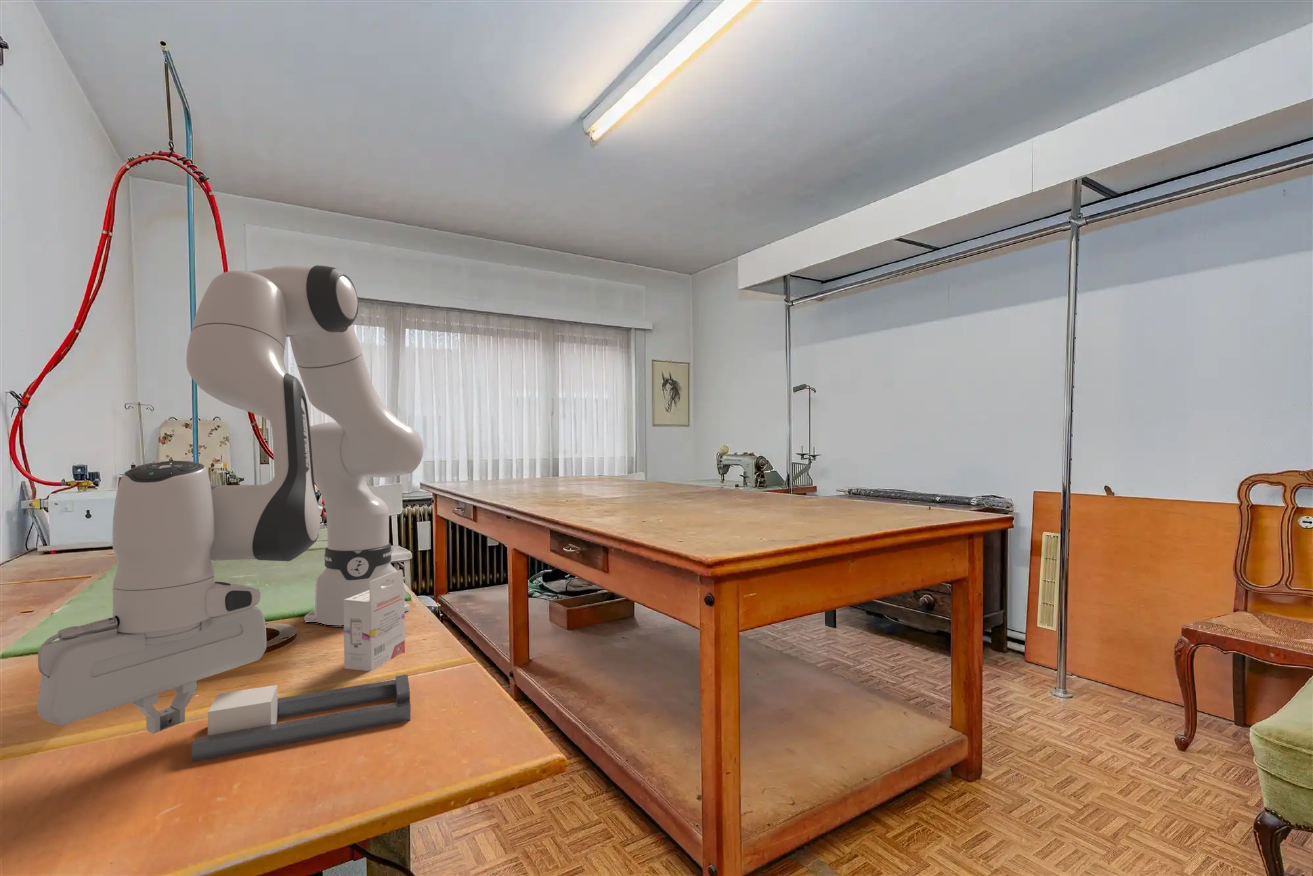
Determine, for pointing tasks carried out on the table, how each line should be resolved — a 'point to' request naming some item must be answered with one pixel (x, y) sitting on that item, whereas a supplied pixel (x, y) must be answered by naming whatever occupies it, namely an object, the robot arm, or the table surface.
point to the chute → (315, 718)
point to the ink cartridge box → (375, 624)
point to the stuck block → (243, 710)
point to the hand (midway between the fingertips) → (165, 727)
